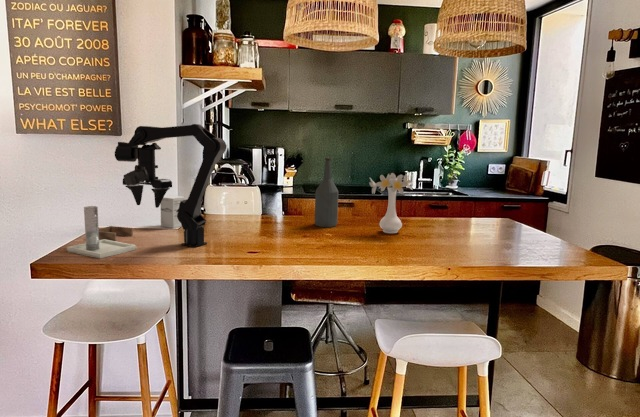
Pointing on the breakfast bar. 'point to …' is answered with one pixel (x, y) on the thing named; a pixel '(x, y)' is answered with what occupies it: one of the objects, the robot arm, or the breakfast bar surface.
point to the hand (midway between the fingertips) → (147, 206)
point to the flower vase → (391, 200)
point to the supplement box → (170, 211)
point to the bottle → (326, 200)
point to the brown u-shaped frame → (114, 232)
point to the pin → (91, 228)
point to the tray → (102, 249)
